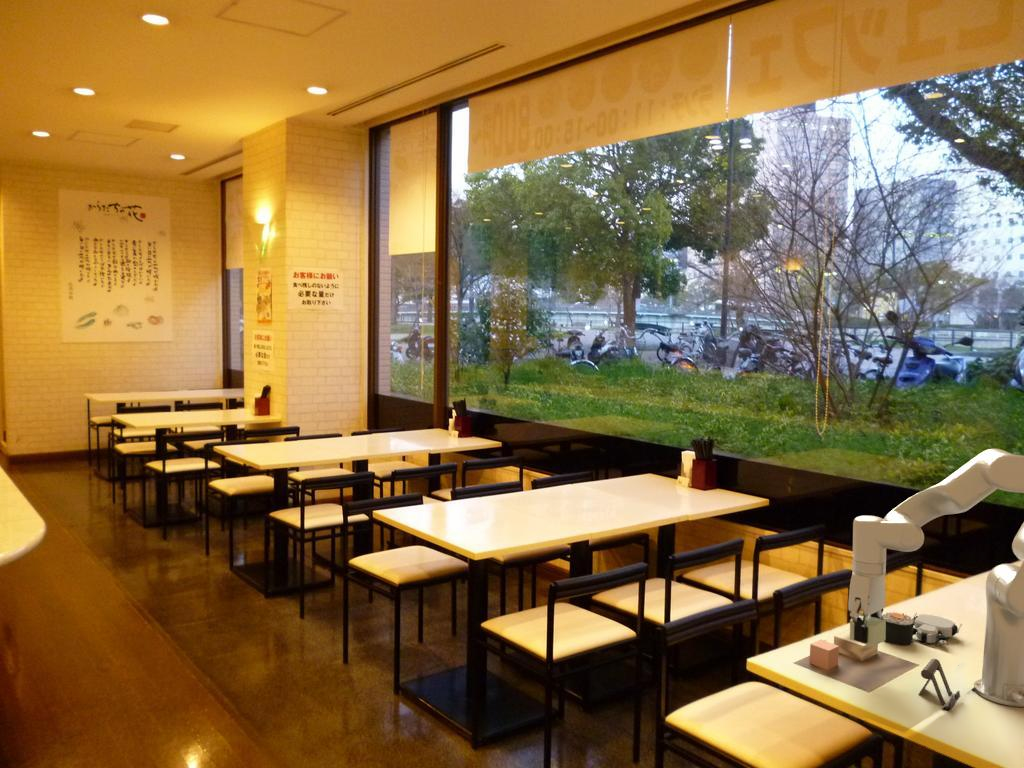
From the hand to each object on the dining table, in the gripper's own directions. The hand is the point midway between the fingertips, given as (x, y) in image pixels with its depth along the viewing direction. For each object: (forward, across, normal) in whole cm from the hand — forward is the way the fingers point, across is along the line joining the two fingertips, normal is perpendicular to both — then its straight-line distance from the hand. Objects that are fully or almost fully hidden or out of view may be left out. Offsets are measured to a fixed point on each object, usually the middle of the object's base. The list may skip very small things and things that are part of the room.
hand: (867, 637), depth 200 cm
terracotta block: (+9, +3, -10) cm, 14 cm away
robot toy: (+12, -41, -3) cm, 43 cm away
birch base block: (+10, -11, -9) cm, 17 cm away
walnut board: (+11, -4, -5) cm, 12 cm away
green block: (+1, 0, 0) cm, 1 cm away
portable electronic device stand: (+12, -2, +16) cm, 20 cm away
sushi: (+11, -29, -6) cm, 32 cm away
